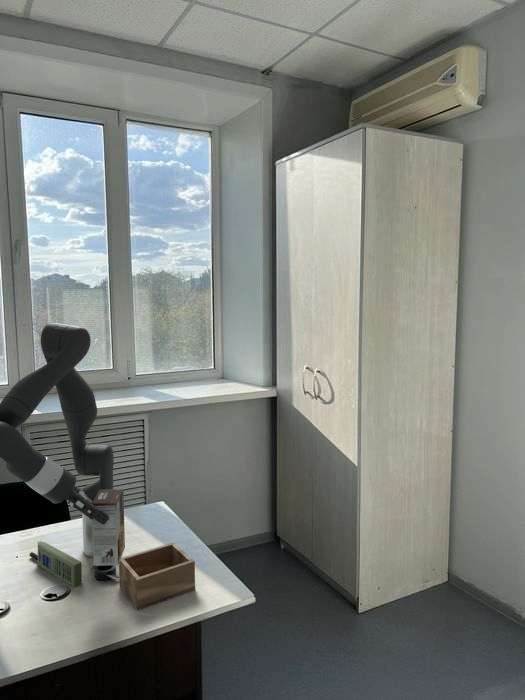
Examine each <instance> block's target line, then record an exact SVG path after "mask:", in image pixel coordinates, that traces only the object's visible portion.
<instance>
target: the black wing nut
mask: <svg viewBox="0 0 525 700" xmlns="http://www.w3.org/2000/svg"><path fill="white" fill-rule="evenodd" d="M90 569H91V570H94V571H93V572H94V580H95V581H96V582H100V583H103V582H108V581H111V580H118V579H120V578H119V576H118V575H117V565H103V566H94V565H92V566H91V568H90Z"/></svg>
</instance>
